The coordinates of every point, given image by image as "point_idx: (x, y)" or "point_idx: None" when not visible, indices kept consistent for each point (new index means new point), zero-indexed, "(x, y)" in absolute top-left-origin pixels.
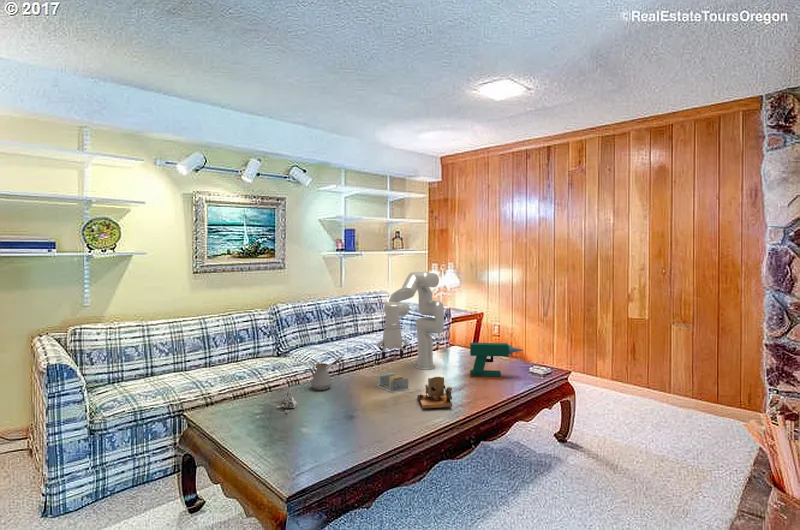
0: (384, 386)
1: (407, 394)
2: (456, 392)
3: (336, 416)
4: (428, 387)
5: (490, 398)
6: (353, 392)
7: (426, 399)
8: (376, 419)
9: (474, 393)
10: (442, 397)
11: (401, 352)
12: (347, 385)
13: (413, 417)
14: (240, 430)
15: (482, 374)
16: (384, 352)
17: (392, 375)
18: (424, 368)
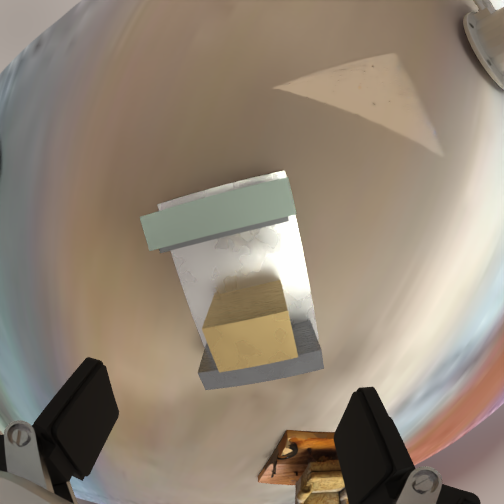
0: (192, 263)
1: (270, 391)
2: (434, 398)
3: None
4: (297, 500)
5: (445, 437)
6: (51, 272)
7: (293, 463)
8: (129, 472)
9: (456, 407)
10: None
11: (351, 493)
12: (45, 149)
13: (210, 494)
14: None
15: None
16: (78, 473)
17: (266, 225)
18: (495, 77)
